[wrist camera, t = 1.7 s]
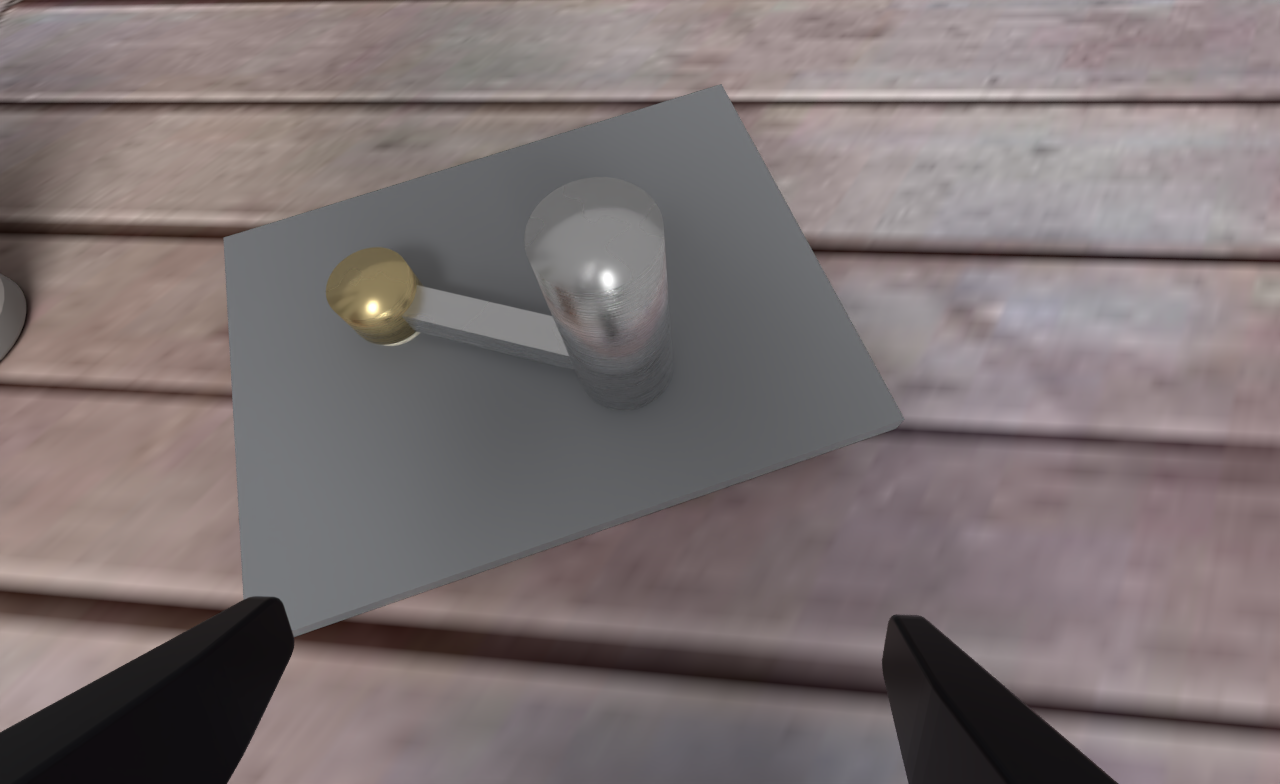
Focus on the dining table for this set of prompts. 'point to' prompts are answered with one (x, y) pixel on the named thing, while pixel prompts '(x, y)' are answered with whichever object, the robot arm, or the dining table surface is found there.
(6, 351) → the travel mug
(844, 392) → the bolt-hole plate
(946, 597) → the dining table surface
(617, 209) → the ball-knob lever
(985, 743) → the robot arm
